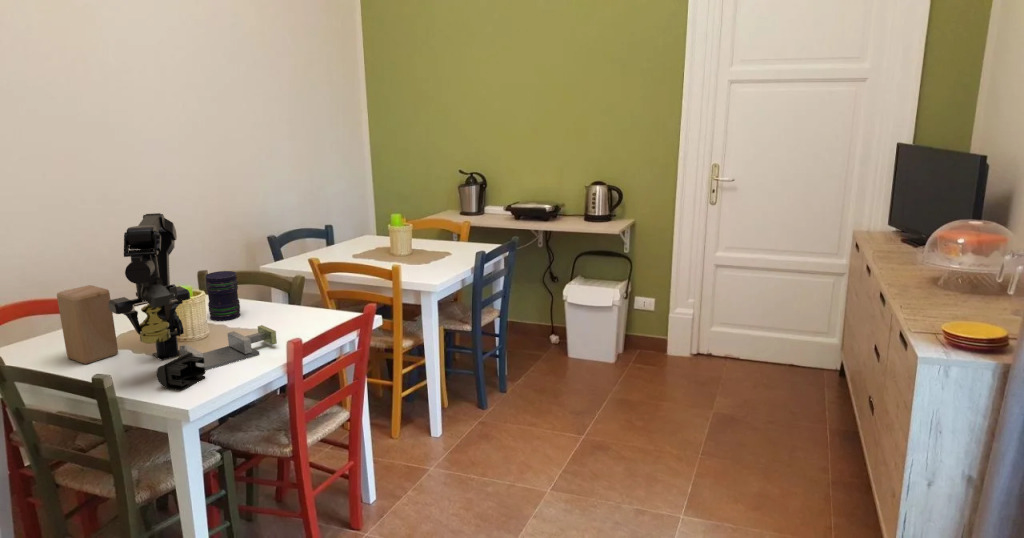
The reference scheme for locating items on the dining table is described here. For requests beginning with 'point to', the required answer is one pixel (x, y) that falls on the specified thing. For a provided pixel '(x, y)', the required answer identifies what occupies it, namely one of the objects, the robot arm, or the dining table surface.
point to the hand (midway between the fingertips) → (154, 330)
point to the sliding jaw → (251, 339)
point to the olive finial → (153, 326)
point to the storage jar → (223, 295)
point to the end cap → (181, 372)
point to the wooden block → (87, 323)
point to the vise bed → (217, 356)
